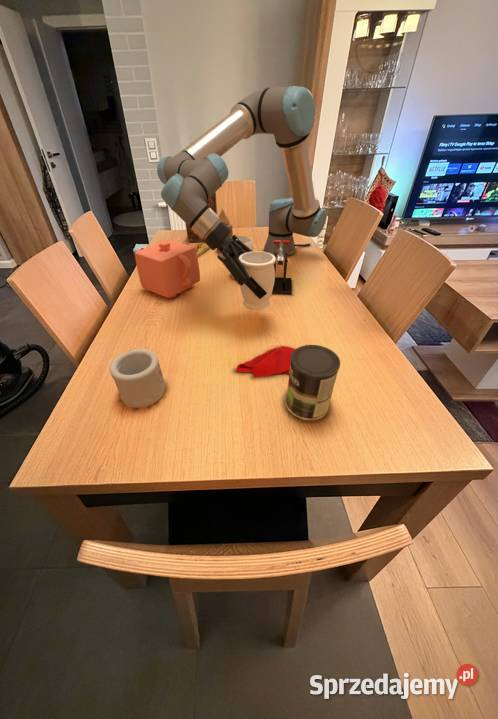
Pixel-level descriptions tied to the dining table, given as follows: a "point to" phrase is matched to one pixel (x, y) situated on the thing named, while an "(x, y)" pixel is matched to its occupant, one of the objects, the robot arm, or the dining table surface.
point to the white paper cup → (258, 277)
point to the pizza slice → (200, 248)
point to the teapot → (168, 267)
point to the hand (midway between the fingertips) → (266, 287)
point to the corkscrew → (280, 256)
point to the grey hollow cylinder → (138, 377)
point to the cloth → (269, 362)
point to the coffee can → (311, 381)
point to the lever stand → (282, 280)
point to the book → (190, 233)
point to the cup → (246, 242)
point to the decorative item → (226, 221)
